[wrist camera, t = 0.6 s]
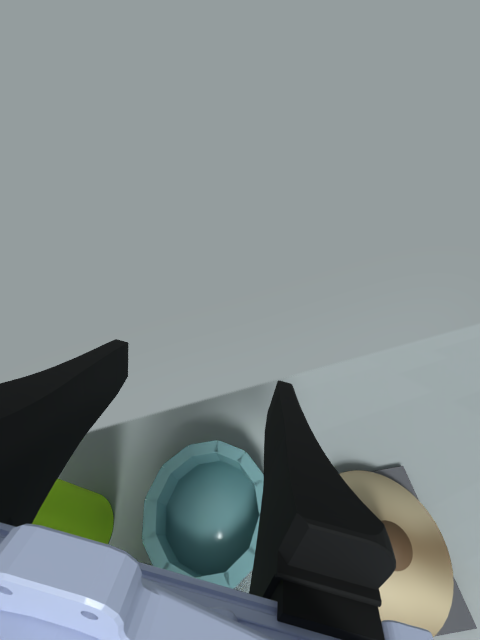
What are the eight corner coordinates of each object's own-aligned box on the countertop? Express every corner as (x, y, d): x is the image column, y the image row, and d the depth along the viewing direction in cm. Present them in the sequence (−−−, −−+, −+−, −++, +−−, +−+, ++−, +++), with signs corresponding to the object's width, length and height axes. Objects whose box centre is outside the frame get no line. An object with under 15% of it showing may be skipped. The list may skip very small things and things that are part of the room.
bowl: (283, 578, 22) (284, 581, 19) (154, 602, 22) (137, 608, 19) (259, 444, 28) (258, 432, 26) (159, 462, 28) (147, 452, 25)
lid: (481, 632, 19) (531, 649, 16) (326, 660, 19) (339, 685, 15) (403, 463, 26) (425, 447, 22) (288, 483, 26) (291, 470, 22)
